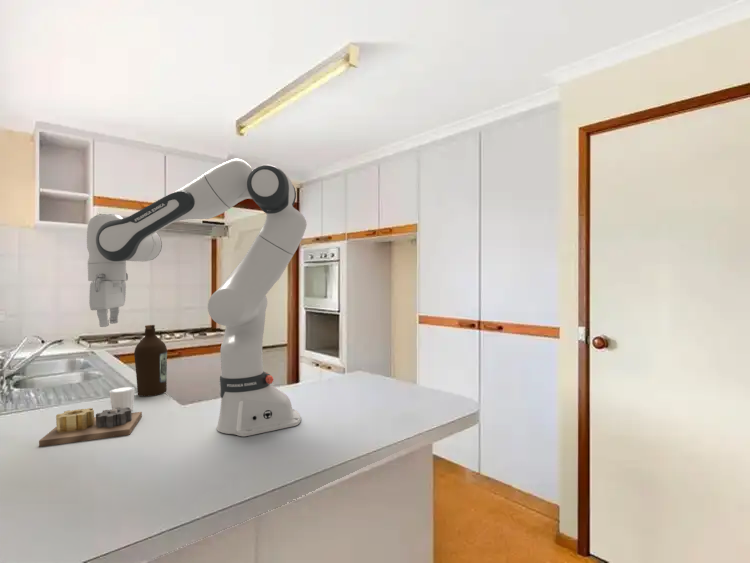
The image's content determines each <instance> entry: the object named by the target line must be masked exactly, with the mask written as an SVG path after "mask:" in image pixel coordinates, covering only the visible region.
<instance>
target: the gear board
mask: <svg viewBox="0 0 750 563" xmlns="http://www.w3.org/2000/svg"><path fill="white" fill-rule="evenodd" d="M142 417H143V412H142V411H136V412H132V411H131V409H130V408H128V407H126V408H120V407H119V408H115V409H112V408H111V409H105V410H104V409H103V410H102V412H97V413H96V414H95V416H94V425H93V426H89V427H87V429H84V430H77V431H69V432H67V431H66V432H61V433H58V432H57V426H55V427H54V428H53V429H52V430H50V431H49V432H48V433H47V434H45V435H44V436H43V437H42V438H41V439H39V440H38V447H39V448H40V447H48V446H55V445H62V444H70V443H78V442H85V441H93V440H94V441H95V440H100V439H108V438H115V437H123V436H130V435H131V433H132V432H133V431H134V429H135V428H136V426H137V425H138V424H139V422H140V420H141V419H142Z"/></svg>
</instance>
